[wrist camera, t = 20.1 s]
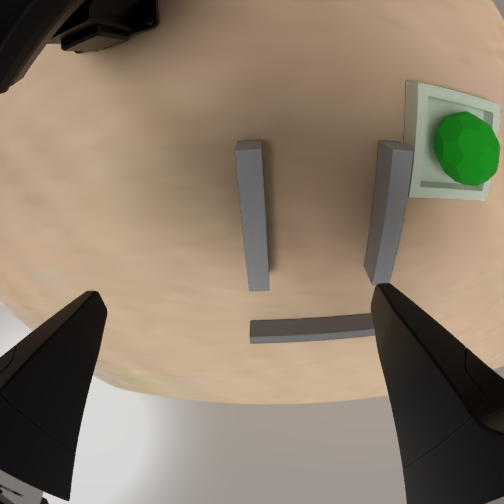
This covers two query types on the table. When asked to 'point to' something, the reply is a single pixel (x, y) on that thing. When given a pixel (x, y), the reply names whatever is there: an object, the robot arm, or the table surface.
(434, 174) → the dish
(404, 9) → the table surface
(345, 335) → the channel
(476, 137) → the polyhedron
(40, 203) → the table surface
